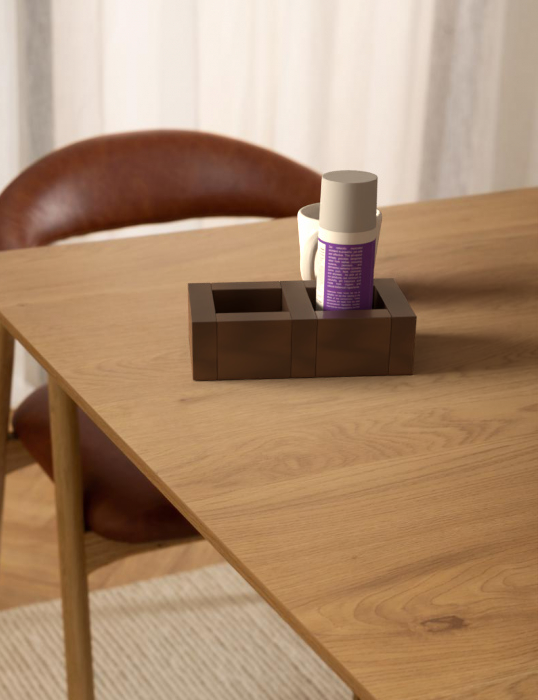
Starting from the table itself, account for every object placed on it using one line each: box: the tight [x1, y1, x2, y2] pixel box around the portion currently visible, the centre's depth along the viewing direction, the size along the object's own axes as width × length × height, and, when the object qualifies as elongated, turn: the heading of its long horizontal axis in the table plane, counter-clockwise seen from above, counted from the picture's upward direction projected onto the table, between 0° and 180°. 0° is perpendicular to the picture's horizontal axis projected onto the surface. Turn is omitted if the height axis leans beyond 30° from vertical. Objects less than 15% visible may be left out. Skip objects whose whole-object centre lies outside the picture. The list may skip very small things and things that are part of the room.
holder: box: [187, 277, 418, 381], centre depth 100 cm, size 18×10×5 cm, turn 93°
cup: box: [297, 202, 383, 281], centre depth 112 cm, size 11×8×8 cm
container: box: [316, 169, 379, 311], centre depth 98 cm, size 5×5×15 cm
